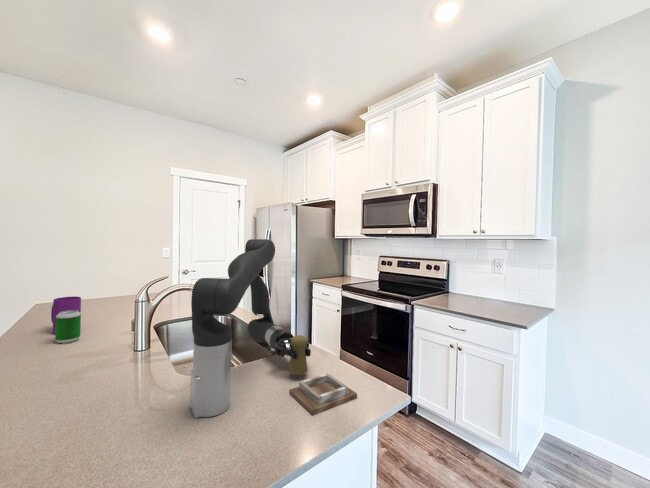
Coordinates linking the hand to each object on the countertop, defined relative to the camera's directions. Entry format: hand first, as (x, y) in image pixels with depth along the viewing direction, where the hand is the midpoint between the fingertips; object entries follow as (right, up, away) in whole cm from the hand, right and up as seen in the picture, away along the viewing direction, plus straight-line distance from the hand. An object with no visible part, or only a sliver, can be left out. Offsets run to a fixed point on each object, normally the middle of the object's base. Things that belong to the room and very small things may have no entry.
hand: (303, 354), depth 89 cm
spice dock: (+6, -8, -9) cm, 14 cm away
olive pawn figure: (-2, -6, +2) cm, 7 cm away
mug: (-111, -5, +39) cm, 118 cm away
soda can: (-98, -5, +27) cm, 101 cm away
